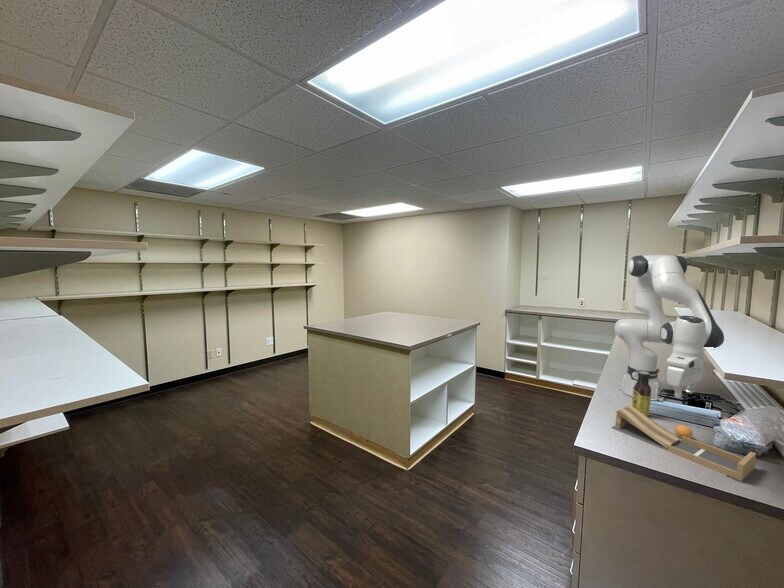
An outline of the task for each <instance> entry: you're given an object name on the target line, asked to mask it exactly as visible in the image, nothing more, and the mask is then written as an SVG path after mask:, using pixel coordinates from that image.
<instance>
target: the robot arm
mask: <svg viewBox="0 0 784 588" xmlns="http://www.w3.org/2000/svg"><path fill="white" fill-rule="evenodd" d="M687 269H688V261H687V259H686V257H684V256H682V255H677V254H676V255H675V254H674V255H673V254H672V255H669V254H649V255H648V254H647V255H641V254H640V255H635V256H633V257H632V258H630V260H629V262H628V264H627V270H628V273H629V274H630V275H631V276H632V277H635V278H636V279H635V285H634V291H633V292H634V293H633V307H634V309H635V310H637V311H638V312H641V313H643V314H645V315H647V319H643V318H620V319H618V320H617V321H616V322H615V324H614V327H613V331H614V333H615V335H616V336H617V337H618V338H619V339H621V340H622V341H623V343H625V345H626V347H627V349H628V350H627V351H628V357H629V358H628V359H629V360H628V365H627V367H626V369H627V370H626V374H624V375H623V381H622V385H621V386H619V390H620V391H622V392H623V394H625V395H627V396H629V397H633V388H634V386H635V384H636V382H637V381H638V371H645V372H648V373H649V374H650V377H649V383H648V384H649V386H650V387H651V399H660V400H663V399H664V398H662V397H660V396H658V394H659V393H661V390H663V386H664V385H663V382H662V381H661V380H660V379H659V378H658V377H659V375H658V374H659V373H660V369H659V368H657V366H658V354H657V353H656V352H655V351H654V350H652V349H650V348H649V347H647V346H644V345H643V344H644V342H648V343H657V344H666V345H670V346H673V347H672V351H671V354H670V356H669V357H668V358H667V359H666V365H668V366H667V369H666V370H667V372H666V383H667V385H668V386H670V387H672V388H673V390H674V397H675V398H679V399H680V398H682V397H683V392H682V391H683V387H686V386H687V387H686V390H685V392H686V394H694V393H695V387H696V386H697V383H698V382H701V381H703V377H704V376H703V375H704V361H705V349H703V347H714V348H716V347H718V348H719V347H720V346H722V344H724V342H725V334H724V332H723V330H722V328H721V327H720V326H719V324H718V323H717V322H716V320H715V318H714V316H713V314H712V312H711V310H710V308H709V307H708V304H707V302H706V301H705V299H704V297H703V295H702V293H701V292H700V291H699V290H698V289H696V288H694V287H693V286H692V285H690V283H689V282H688V280H687V279H686V276H685V274H686V273H687V271H688V270H687ZM663 299H664V300H668V301H672V302H674V303H675V302H676V303H678V304H681V305H684V306H686V307H687V308H689V309H690V310H691V313H692V314H693V315H680V316H677V318H676V320H674V321H671V320H670V319H669V318H668V317H667V315H666V314H665V312H664V310H663ZM716 349H717V348H716ZM664 400H665V399H664ZM664 400H663V401H664Z"/></svg>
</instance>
